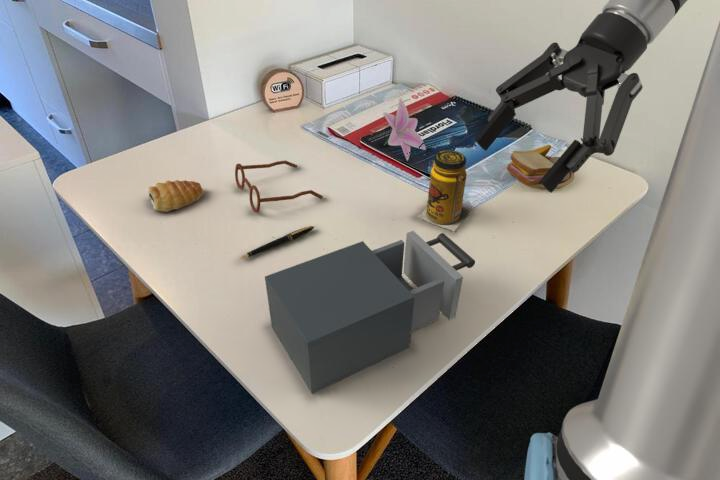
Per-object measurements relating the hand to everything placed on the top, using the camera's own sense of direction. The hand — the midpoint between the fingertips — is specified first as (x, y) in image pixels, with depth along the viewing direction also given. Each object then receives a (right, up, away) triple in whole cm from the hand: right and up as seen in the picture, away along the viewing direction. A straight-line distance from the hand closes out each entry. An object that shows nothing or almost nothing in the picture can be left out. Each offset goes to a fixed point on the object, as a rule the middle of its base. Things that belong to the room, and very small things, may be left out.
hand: (510, 165), depth 70 cm
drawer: (-14, -19, +5) cm, 24 cm away
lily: (-11, +9, +42) cm, 45 cm away
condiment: (-5, -5, +24) cm, 26 cm away
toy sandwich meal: (+16, +3, +35) cm, 38 cm away
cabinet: (-23, -23, +2) cm, 33 cm away
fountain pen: (-34, -11, +17) cm, 39 cm away
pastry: (-54, -3, +27) cm, 61 cm away
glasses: (-36, -1, +30) cm, 46 cm away
